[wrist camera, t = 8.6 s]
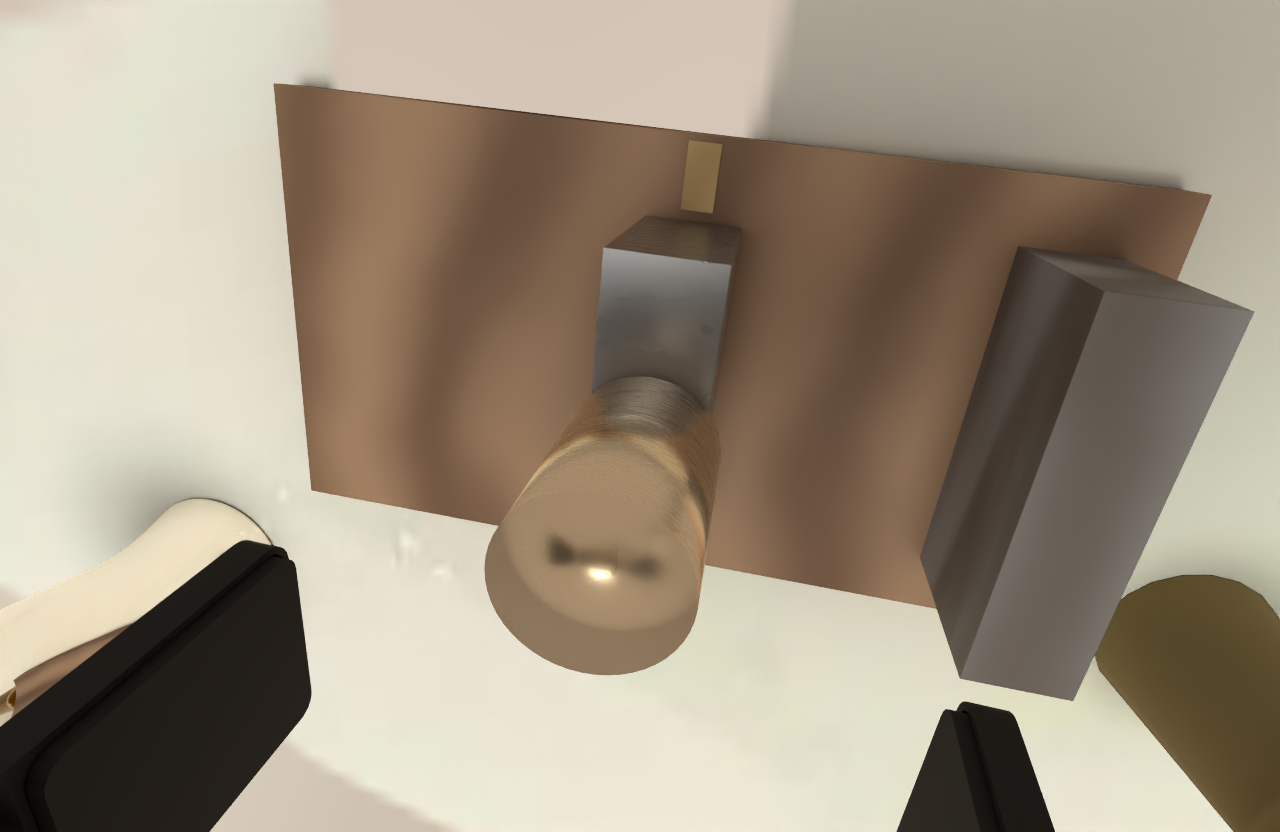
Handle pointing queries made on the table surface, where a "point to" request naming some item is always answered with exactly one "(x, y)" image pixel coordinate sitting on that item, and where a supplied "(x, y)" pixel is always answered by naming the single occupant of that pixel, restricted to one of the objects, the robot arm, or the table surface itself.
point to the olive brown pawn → (1205, 687)
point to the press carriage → (627, 465)
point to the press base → (771, 350)
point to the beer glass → (109, 597)
